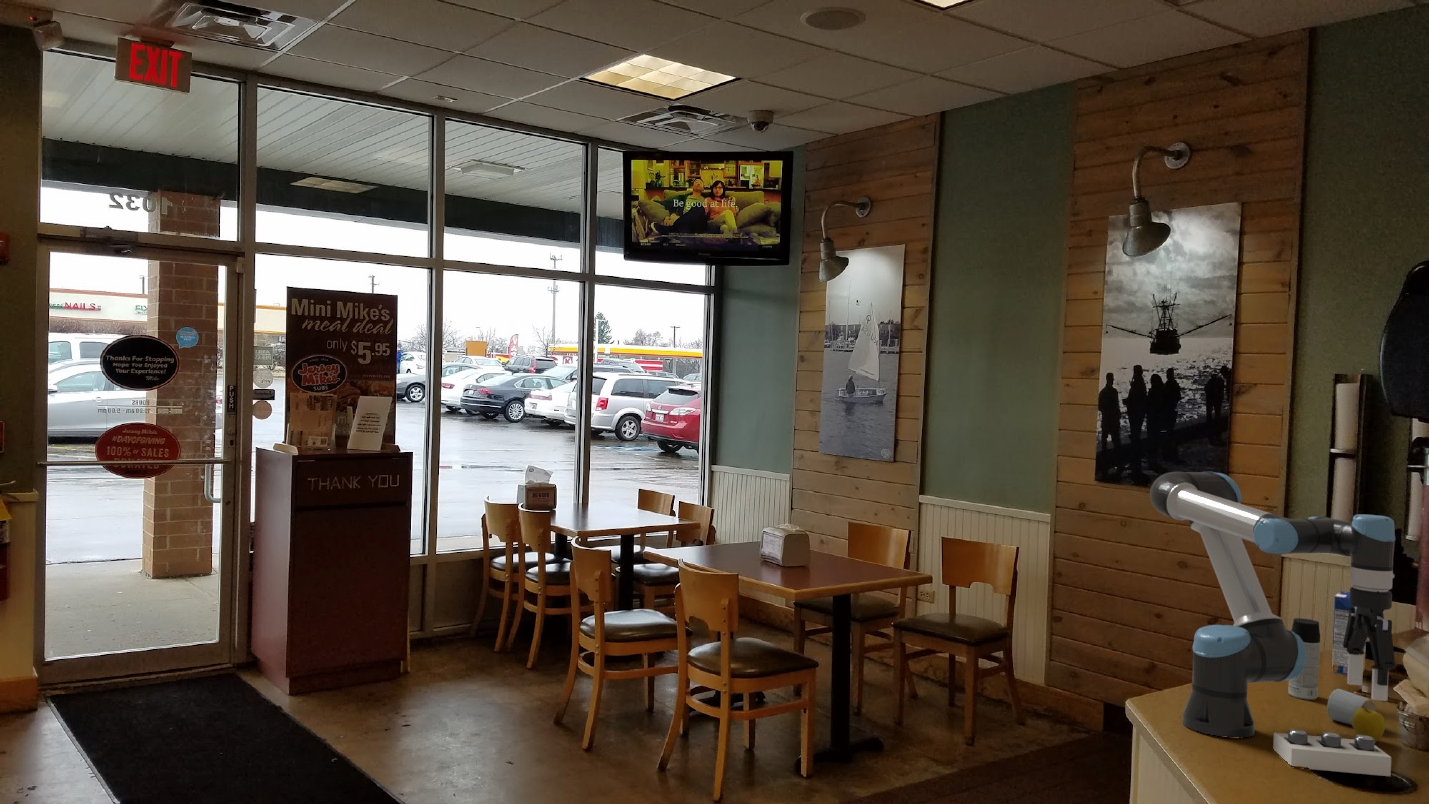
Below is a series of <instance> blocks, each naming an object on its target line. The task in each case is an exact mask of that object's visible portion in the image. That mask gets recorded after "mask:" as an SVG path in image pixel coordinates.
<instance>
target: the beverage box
mask: <svg viewBox="0 0 1429 804" xmlns="http://www.w3.org/2000/svg"><path fill="white" fill-rule="evenodd" d="M1349 599H1350V591H1342V590H1340V591H1338V593H1336V594H1335V595H1334V606H1333V607H1334V608H1333V609H1334V610H1333V629H1332V634H1333V635H1332V655H1331V656H1332V657H1331V673H1335V674H1338V675H1339V674H1340V675H1344V676H1345V675H1346V676H1347V674H1348V654H1349V653H1348V652H1347V648H1344V647H1343V643H1344V638H1345V633H1346V628H1347V623H1348V618H1349V607H1356V606H1353V605H1351V604H1350V602H1349ZM1366 646H1367V641H1366V642H1365V644H1364V647H1363V651H1364V653H1365V654H1359V655H1363V672H1364V671H1365V669H1366V664H1365V663H1366Z"/></svg>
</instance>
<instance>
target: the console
mask: <svg viewBox="0 0 1429 804" xmlns="http://www.w3.org/2000/svg"><path fill="white" fill-rule="evenodd" d="M1272 747H1273V748H1272V750H1273V749H1274V751H1276V752H1277V753H1278V754H1279V755H1280V756H1281V757H1282V758H1283V759H1284V760H1285V761H1287V762H1288V764H1290V765H1292V766H1302V767H1308V768H1309V769H1308V770H1315V771H1330V772H1339V773H1348V774H1349V773H1350V774H1359V775H1360V774H1361V775H1370V776H1382V777H1383V776H1385V777H1392V776H1391V775H1392V773H1391V772H1392V756H1390V755H1389V754H1388V753H1386V752H1385V751H1384V750H1382V749H1381V748H1379V747H1378V746H1377V745H1375V746H1374V752H1373V751H1362V750H1357V749H1356V748H1354V738H1353V739H1352V738H1342V737H1341V749H1340V748H1328V747H1323V746H1322V745H1321V736H1317V735H1308V743H1307V746H1306V745H1294V744H1290V743H1289V742H1288V733H1283V732H1273V745H1272ZM1274 751H1273V752H1274ZM1280 756H1279V757H1280ZM1281 757H1280V758H1281ZM1282 758H1281V759H1282ZM1283 759H1282V760H1283ZM1284 760H1283V761H1284ZM1285 761H1284V762H1285ZM1288 764H1287V765H1288Z"/></svg>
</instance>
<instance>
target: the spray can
mask: <svg viewBox="0 0 1429 804" xmlns="http://www.w3.org/2000/svg"><path fill="white" fill-rule="evenodd" d="M1290 631H1292V632H1294V633H1295V634H1297V635H1298V636H1299V637H1300V638H1301V639H1302V641H1303V643H1304V645H1305V648H1306V663H1305V665H1304V669H1303V671H1302V672H1301V673H1300V674H1299V675H1298V676H1297V677H1295V678H1293V679H1290V680H1288V689H1287V690H1288V691H1287V692H1288V695H1289V696H1290V697H1293V698H1295V699H1301V700H1306V701H1307V700H1308V701H1313V700H1317V698H1318V697H1319V696H1318V694H1319V693H1318V691H1319V675H1320V674H1319V673H1320V671H1319V670H1320V669H1319V668H1320V654H1321V653H1320V652H1321V651H1320V650H1321V633H1320V632H1321V631H1320V623H1319V621H1318V620H1314V619H1311V618H1298V617H1296V618H1294V619H1293V622H1292V628H1291V630H1290Z"/></svg>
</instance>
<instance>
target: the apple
mask: <svg viewBox="0 0 1429 804" xmlns="http://www.w3.org/2000/svg"><path fill="white" fill-rule="evenodd" d="M1363 707H1364V705H1363ZM1352 725H1353V726H1352ZM1352 725H1351V726H1352V728H1353V730H1354V732H1355V734H1356V735H1366V736H1369V737H1372V738H1373V739H1375V743H1377V742H1378V741H1379V740H1380V739H1381V738H1382V736H1383V734H1385V730H1386V720H1385V717H1384V716H1383V715H1382V714H1381V713H1380V712H1377V710H1376V711H1373V710H1370V709H1366V708H1365V707H1364V708H1360V709H1358V710H1357V711H1356V712H1355V714H1354V716H1353V719H1352Z"/></svg>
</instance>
